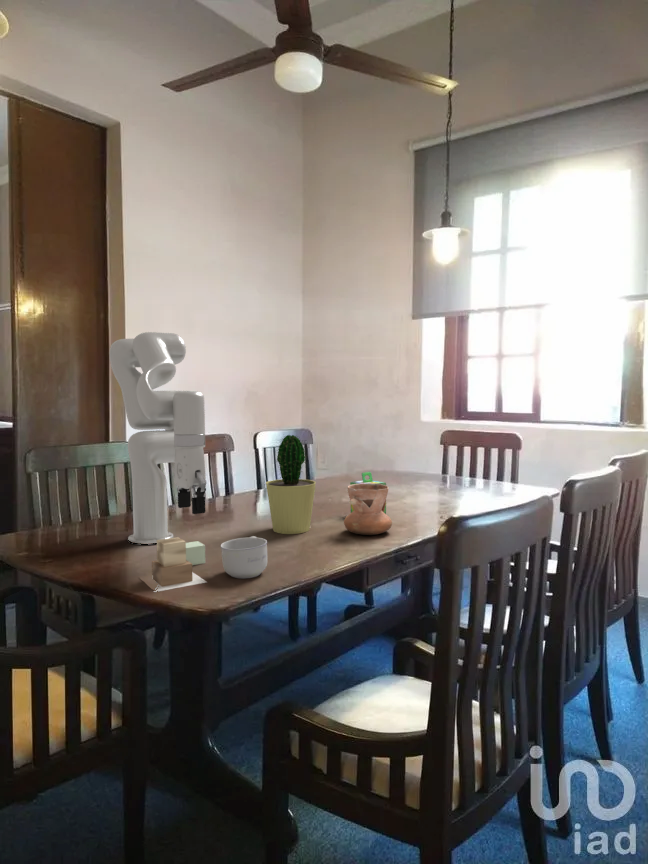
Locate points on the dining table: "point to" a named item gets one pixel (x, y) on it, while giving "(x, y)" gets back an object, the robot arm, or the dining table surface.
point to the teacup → (244, 556)
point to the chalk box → (367, 482)
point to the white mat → (195, 579)
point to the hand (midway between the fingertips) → (191, 510)
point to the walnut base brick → (171, 573)
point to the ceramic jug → (368, 509)
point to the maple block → (171, 551)
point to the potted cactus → (291, 490)
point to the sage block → (195, 552)
